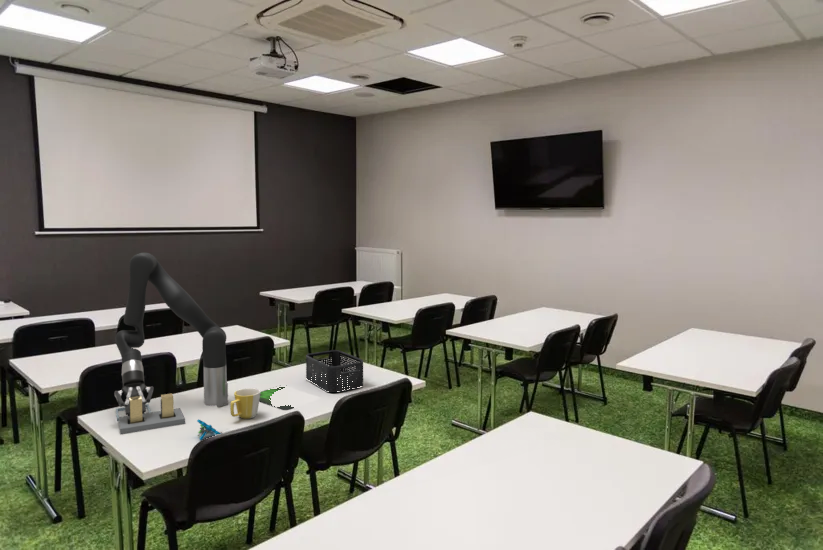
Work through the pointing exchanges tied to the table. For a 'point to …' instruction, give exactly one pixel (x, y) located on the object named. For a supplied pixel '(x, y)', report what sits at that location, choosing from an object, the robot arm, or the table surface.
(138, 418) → the brass billet
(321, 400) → the table surface
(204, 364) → the robot arm
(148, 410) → the light blue tray
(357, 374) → the storage bin
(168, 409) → the seated billet
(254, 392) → the mug
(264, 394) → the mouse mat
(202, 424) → the blue and green toy
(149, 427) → the grey slotted fixture block
